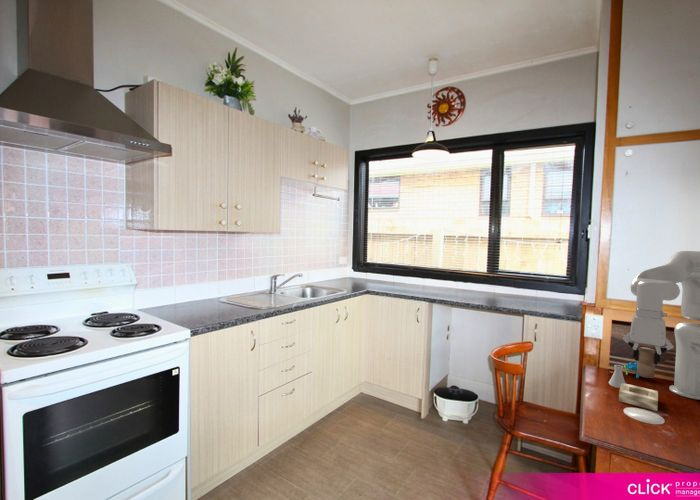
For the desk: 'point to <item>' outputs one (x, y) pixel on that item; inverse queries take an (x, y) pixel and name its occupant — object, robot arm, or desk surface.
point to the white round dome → (644, 415)
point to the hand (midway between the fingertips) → (646, 361)
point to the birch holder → (638, 396)
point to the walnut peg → (646, 362)
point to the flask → (617, 377)
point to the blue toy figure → (631, 368)
